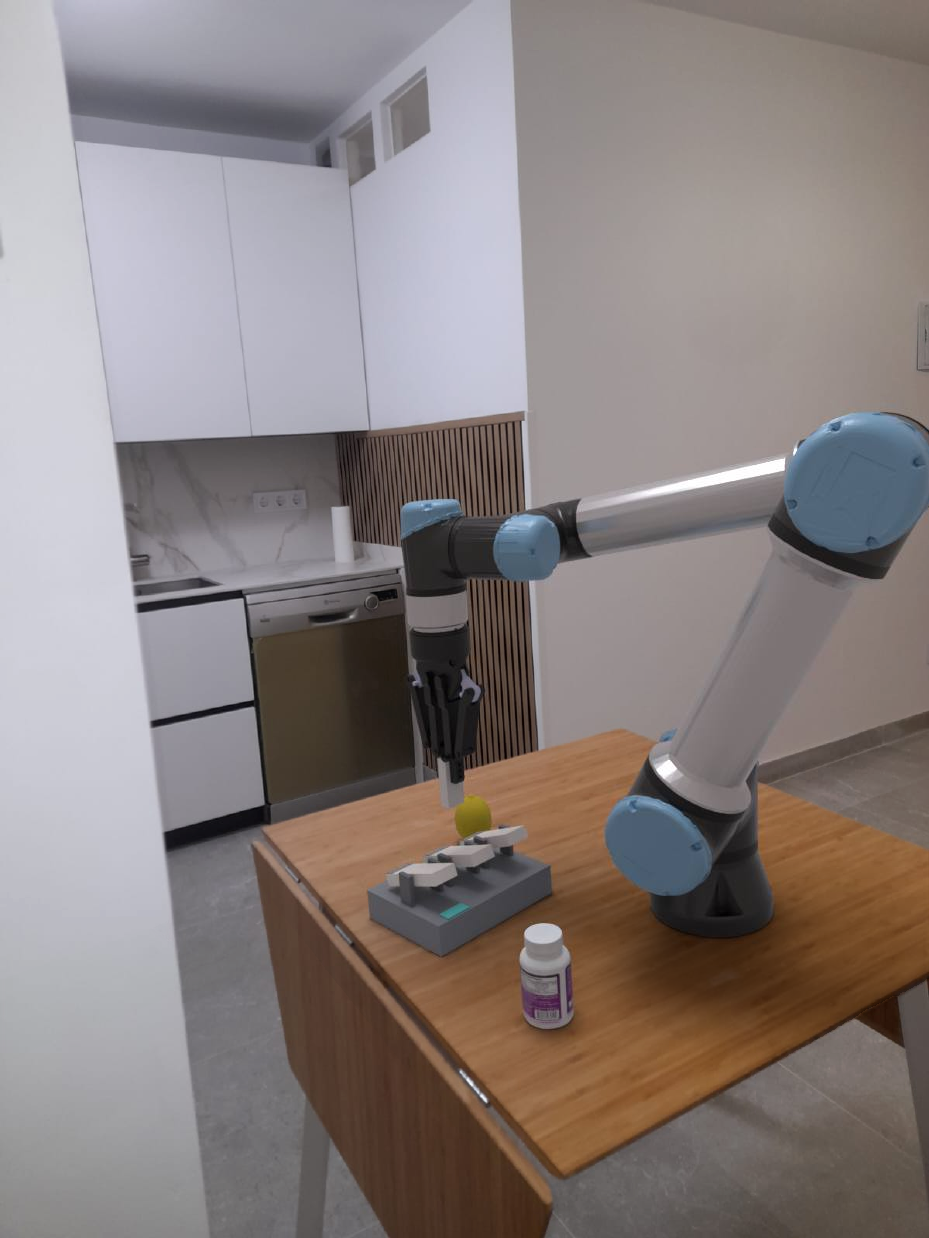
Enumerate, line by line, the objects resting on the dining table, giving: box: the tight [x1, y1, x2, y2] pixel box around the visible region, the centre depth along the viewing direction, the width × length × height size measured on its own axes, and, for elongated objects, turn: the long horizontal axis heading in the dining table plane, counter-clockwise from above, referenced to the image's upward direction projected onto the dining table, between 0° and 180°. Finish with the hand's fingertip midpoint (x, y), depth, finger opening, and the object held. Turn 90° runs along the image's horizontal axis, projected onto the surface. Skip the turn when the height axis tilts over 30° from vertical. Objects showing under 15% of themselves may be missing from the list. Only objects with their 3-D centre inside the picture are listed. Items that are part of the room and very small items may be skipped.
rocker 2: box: [423, 844, 495, 867], centre depth 119 cm, size 10×4×2 cm, turn 43°
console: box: [366, 823, 553, 958], centre depth 119 cm, size 14×20×8 cm
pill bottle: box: [518, 922, 575, 1030], centre depth 95 cm, size 5×5×10 cm
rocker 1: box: [385, 862, 458, 887], centre depth 115 cm, size 10×4×2 cm, turn 43°
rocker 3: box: [459, 824, 529, 849], centre depth 123 cm, size 10×4×2 cm, turn 43°
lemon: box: [454, 793, 493, 839], centre depth 137 cm, size 6×6×8 cm
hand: (452, 804), depth 117 cm, fingers closed
